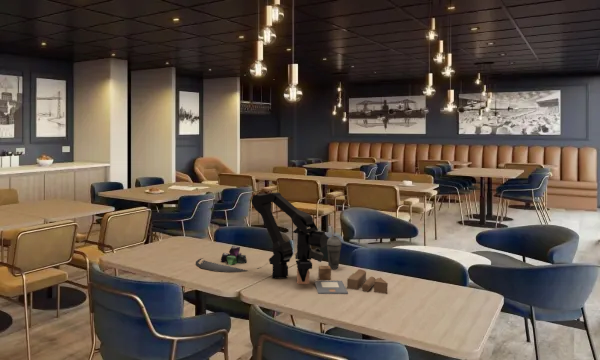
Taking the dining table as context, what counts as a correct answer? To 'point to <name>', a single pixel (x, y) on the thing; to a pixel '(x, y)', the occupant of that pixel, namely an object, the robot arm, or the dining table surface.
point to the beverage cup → (333, 251)
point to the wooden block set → (360, 277)
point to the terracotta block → (301, 279)
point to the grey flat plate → (330, 287)
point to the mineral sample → (229, 258)
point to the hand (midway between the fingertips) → (303, 279)
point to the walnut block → (324, 273)
